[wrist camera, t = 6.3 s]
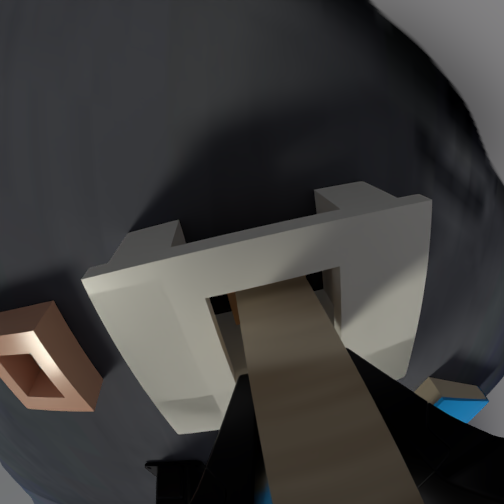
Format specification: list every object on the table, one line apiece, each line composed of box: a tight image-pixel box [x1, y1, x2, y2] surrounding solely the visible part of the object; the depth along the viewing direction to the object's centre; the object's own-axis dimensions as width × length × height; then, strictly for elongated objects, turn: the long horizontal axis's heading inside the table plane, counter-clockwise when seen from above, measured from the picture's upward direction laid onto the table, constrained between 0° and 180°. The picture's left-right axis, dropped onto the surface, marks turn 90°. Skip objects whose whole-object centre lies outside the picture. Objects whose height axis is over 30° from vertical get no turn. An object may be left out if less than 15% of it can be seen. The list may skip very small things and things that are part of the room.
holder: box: [0, 300, 103, 411], centre depth 14 cm, size 7×7×3 cm
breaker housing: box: [81, 181, 432, 434], centre depth 13 cm, size 9×12×6 cm
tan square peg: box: [235, 275, 424, 504], centre depth 8 cm, size 3×3×12 cm
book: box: [414, 377, 489, 423], centre depth 28 cm, size 17×4×25 cm
